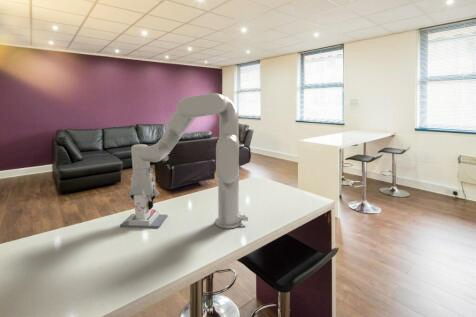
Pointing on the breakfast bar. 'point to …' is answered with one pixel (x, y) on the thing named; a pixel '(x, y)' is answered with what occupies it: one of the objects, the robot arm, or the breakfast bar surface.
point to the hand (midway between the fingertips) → (144, 208)
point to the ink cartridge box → (142, 207)
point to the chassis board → (145, 221)
